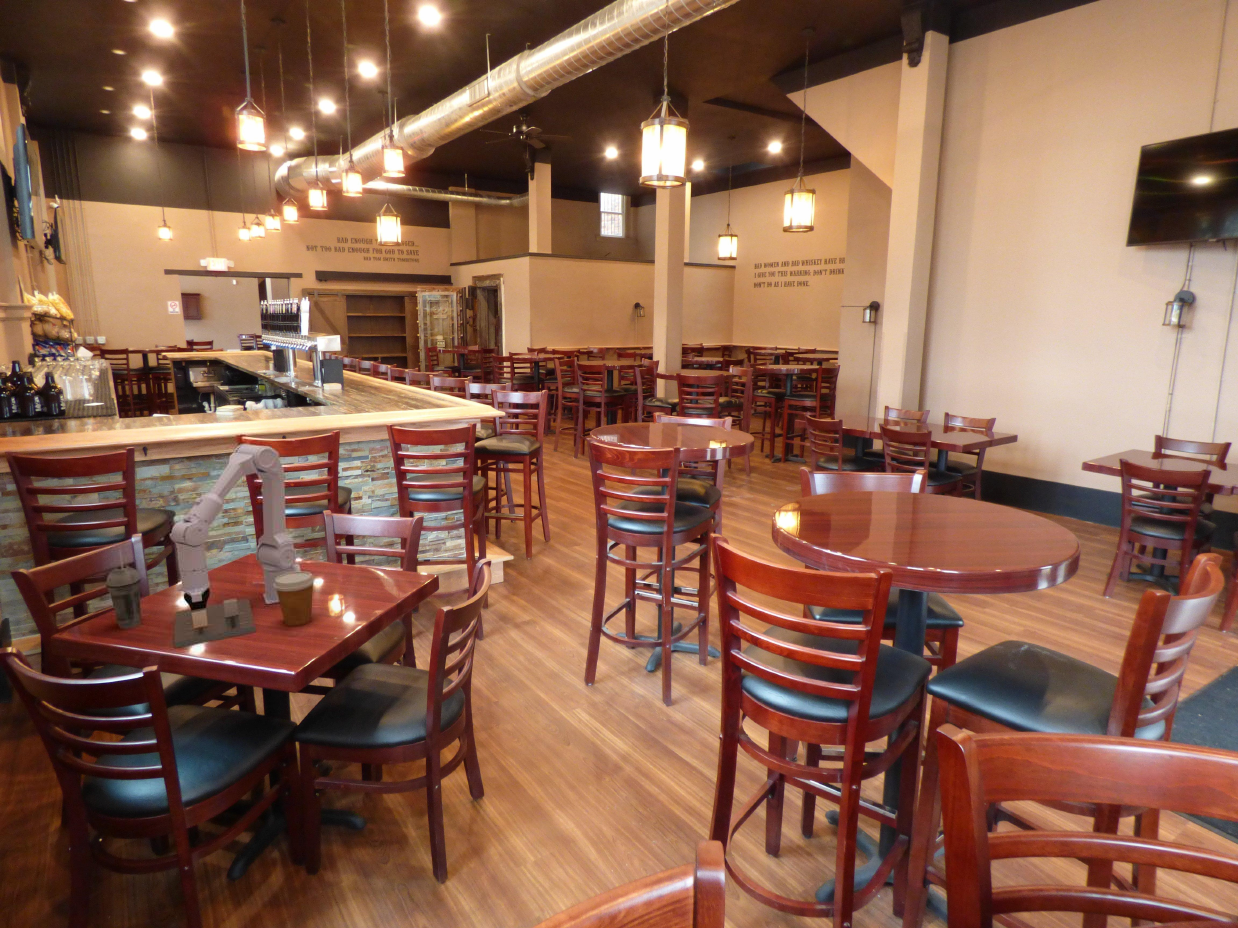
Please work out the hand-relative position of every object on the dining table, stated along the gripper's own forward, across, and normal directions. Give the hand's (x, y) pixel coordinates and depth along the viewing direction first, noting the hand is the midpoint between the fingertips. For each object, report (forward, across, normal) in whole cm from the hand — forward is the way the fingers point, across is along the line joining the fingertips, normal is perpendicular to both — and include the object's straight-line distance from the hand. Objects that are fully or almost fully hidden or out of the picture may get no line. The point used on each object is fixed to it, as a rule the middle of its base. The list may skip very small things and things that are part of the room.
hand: (200, 619), depth 177 cm
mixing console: (+2, -1, +3) cm, 4 cm away
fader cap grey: (+1, -1, +7) cm, 7 cm away
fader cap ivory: (+1, +2, 0) cm, 2 cm away
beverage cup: (+3, -12, -15) cm, 20 cm away
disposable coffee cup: (+3, +8, +22) cm, 23 cm away
